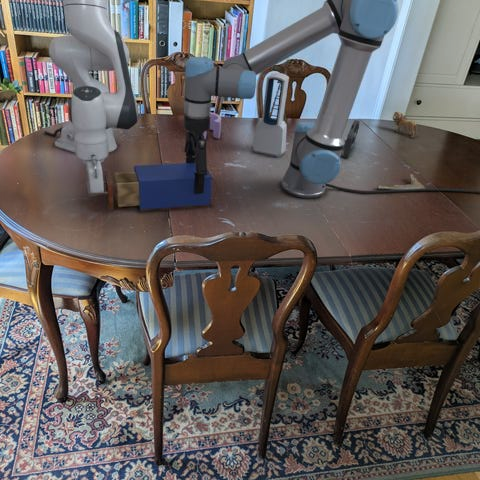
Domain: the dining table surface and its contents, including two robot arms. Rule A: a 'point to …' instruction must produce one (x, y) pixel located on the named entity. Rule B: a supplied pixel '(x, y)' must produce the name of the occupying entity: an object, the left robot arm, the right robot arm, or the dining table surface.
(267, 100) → the electronic device
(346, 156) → the handheld gaming console
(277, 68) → the miniature windmill
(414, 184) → the jawbone
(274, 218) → the dining table surface
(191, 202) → the navy blue box
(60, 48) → the left robot arm
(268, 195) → the dining table surface
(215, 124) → the clip
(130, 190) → the drawer
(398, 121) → the lion figurine
